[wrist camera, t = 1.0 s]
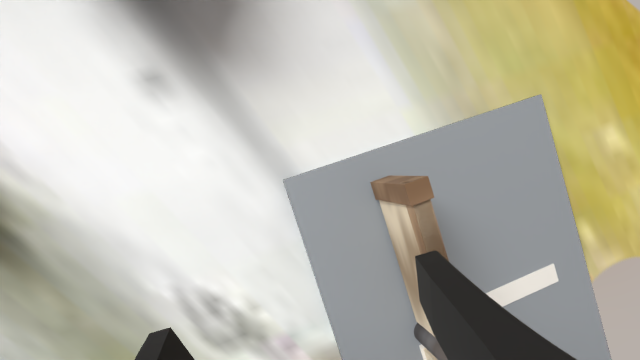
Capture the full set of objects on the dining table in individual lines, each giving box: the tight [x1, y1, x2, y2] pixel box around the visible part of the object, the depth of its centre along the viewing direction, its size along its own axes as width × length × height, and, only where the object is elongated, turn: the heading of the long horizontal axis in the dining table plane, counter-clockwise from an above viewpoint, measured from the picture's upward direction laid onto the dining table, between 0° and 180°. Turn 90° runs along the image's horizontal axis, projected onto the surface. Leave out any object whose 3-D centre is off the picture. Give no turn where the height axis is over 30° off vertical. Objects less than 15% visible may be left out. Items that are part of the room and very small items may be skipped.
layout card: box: [283, 95, 612, 360], centre depth 26 cm, size 24×20×1 cm
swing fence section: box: [370, 175, 449, 338], centre depth 22 cm, size 10×1×5 cm, turn 18°
